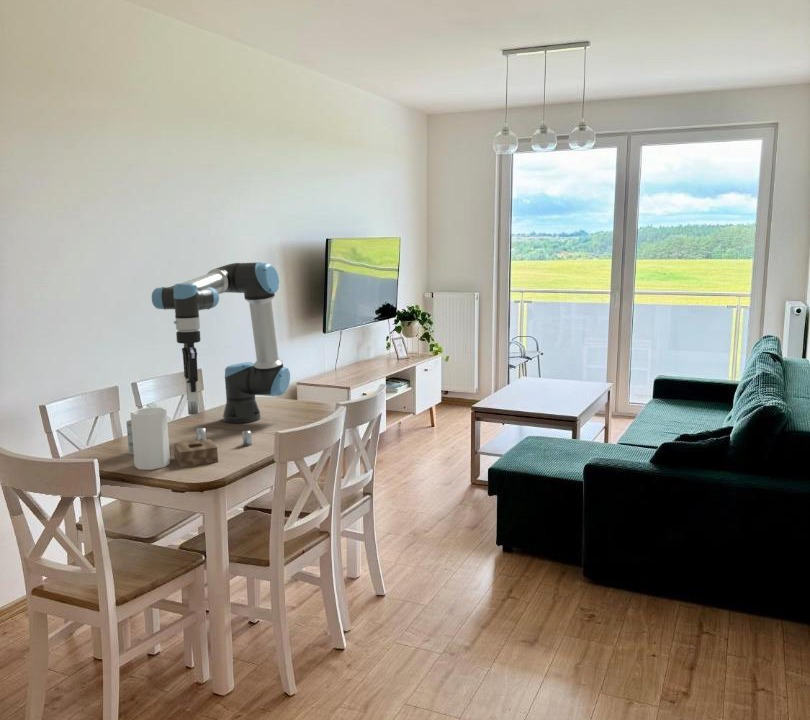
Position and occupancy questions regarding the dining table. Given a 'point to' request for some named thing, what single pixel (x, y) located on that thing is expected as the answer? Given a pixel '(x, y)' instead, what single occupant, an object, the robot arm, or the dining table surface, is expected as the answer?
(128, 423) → the ink box
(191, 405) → the long pin
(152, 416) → the cup
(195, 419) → the dining table surface
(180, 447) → the hole block
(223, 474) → the dining table surface
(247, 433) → the short pin
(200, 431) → the medium pin
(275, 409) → the dining table surface
